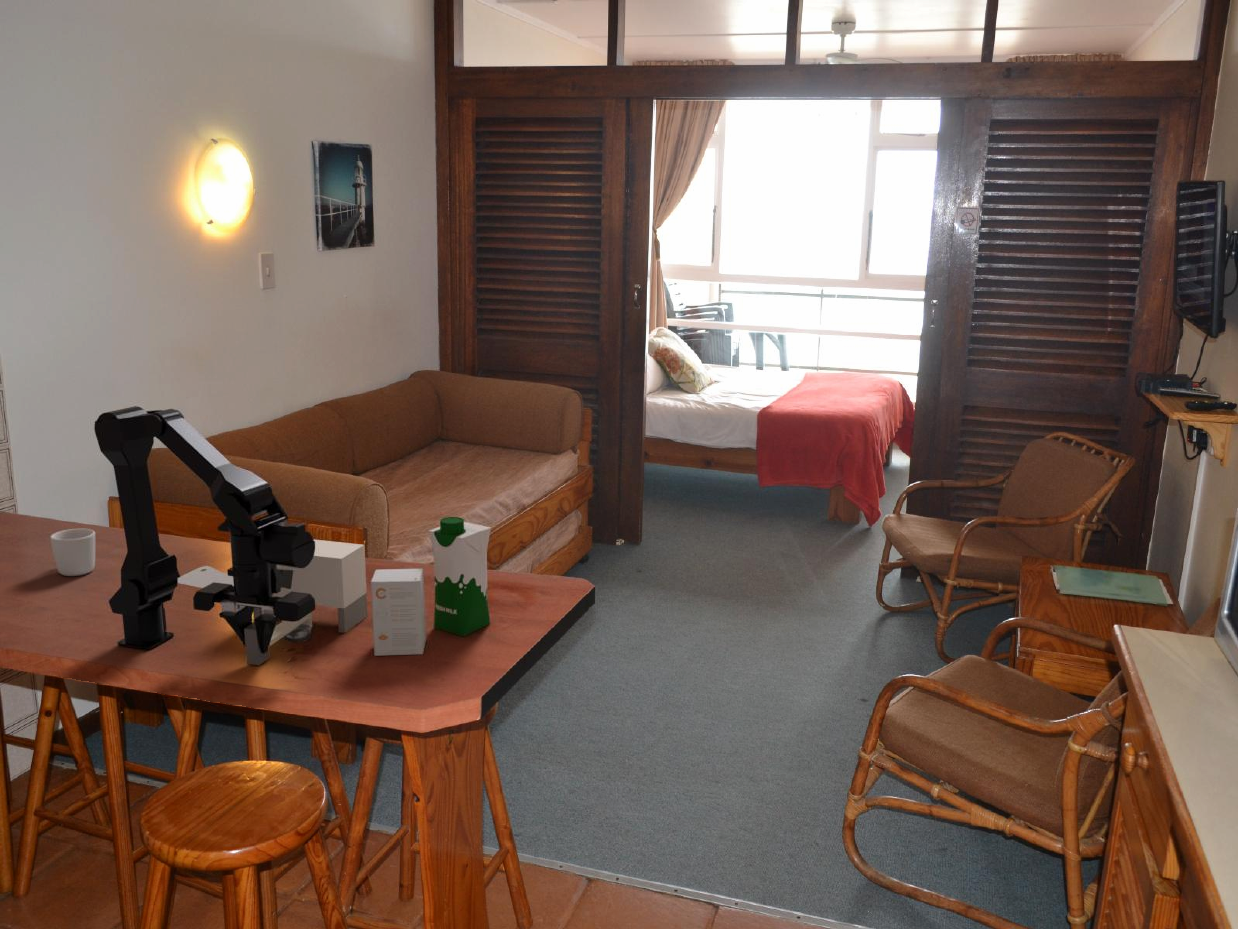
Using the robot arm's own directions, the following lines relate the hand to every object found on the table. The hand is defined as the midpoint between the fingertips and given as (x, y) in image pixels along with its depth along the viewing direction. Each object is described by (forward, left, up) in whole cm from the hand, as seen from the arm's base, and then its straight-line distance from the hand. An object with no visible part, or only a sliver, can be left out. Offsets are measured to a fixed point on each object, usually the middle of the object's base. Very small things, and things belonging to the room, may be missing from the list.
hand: (257, 651), depth 170 cm
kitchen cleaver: (+28, +22, -3) cm, 36 cm away
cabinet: (+19, +2, -2) cm, 19 cm away
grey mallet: (+6, 0, -1) cm, 7 cm away
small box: (+12, -19, -2) cm, 23 cm away
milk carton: (+24, -25, -2) cm, 35 cm away
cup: (+28, +60, -2) cm, 66 cm away
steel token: (+11, 0, -2) cm, 11 cm away
